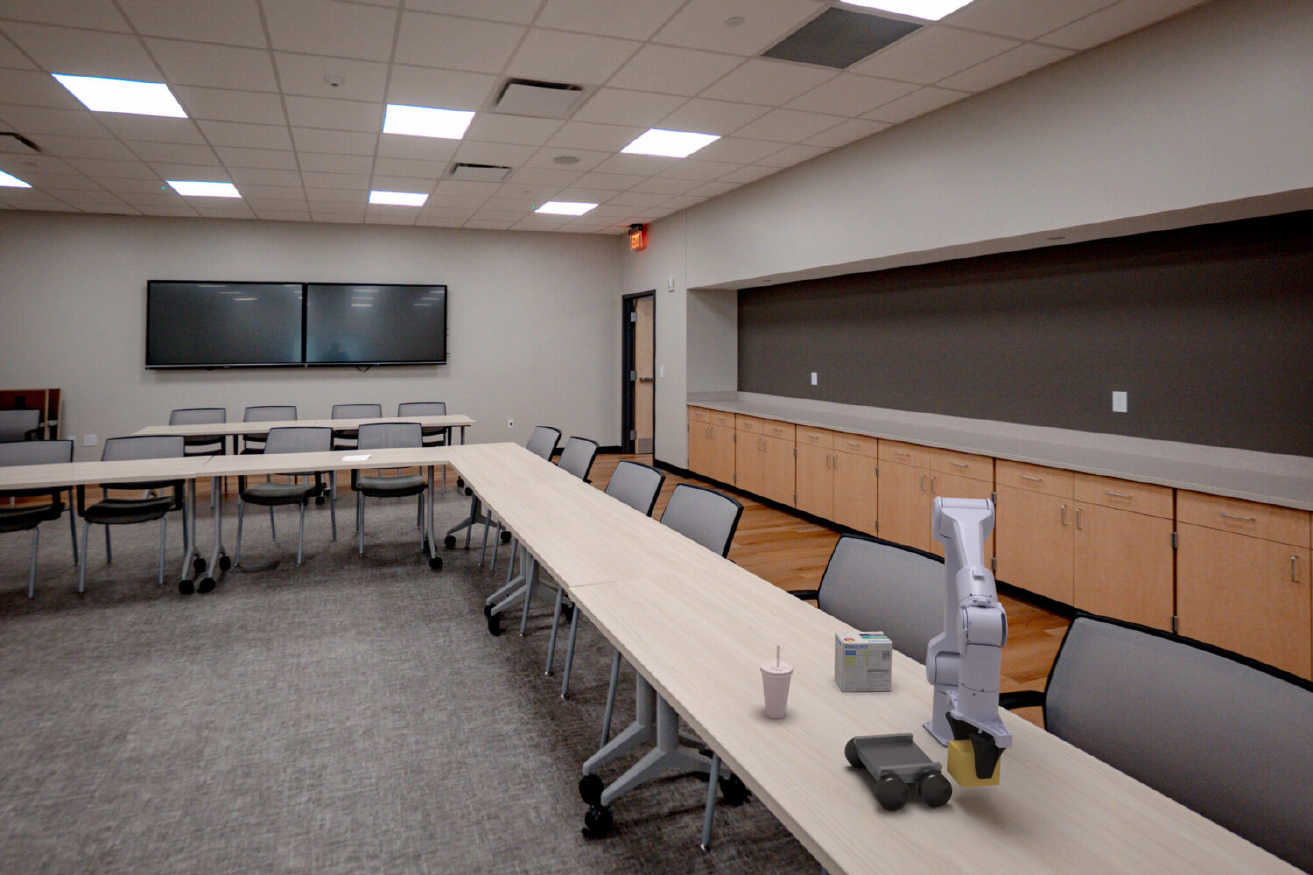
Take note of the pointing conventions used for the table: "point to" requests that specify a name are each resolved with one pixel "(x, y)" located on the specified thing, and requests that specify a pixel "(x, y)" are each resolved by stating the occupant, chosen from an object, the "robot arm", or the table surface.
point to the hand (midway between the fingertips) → (974, 768)
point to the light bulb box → (863, 661)
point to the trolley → (898, 769)
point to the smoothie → (776, 685)
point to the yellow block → (967, 765)
